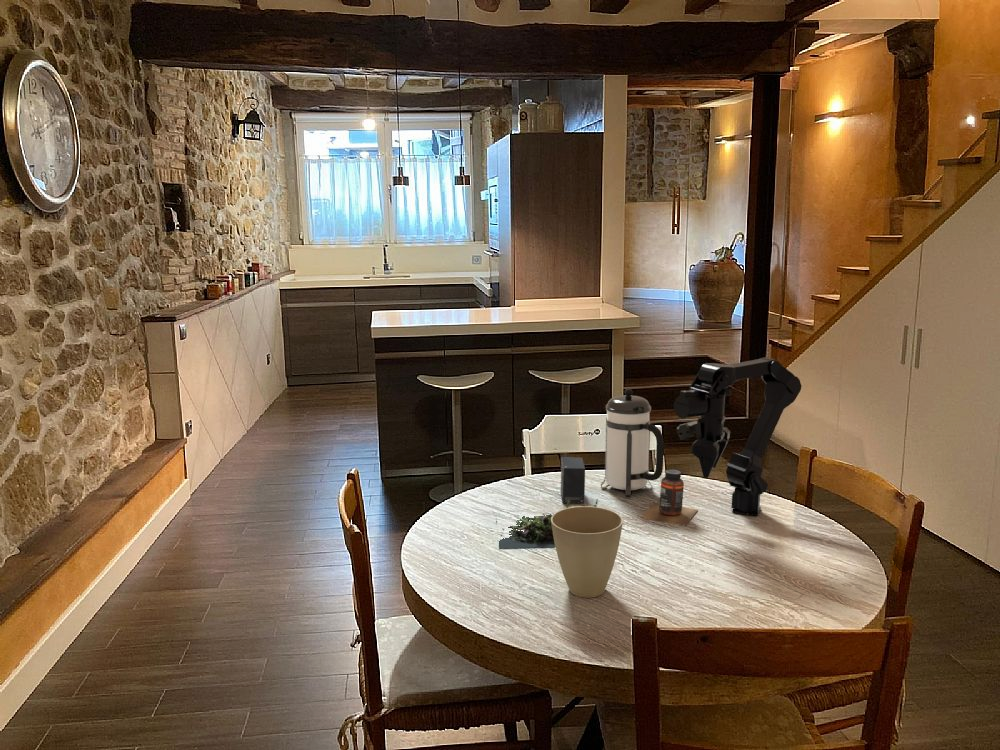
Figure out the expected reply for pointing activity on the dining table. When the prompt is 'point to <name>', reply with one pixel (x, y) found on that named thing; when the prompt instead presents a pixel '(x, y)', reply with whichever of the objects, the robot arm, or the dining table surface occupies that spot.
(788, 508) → the dining table surface
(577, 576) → the plant pot
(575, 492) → the small box
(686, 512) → the walnut trivet
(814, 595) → the dining table surface
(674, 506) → the supplement bottle
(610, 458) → the coffee press
